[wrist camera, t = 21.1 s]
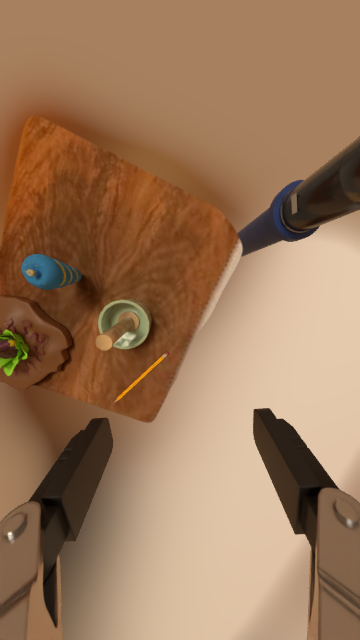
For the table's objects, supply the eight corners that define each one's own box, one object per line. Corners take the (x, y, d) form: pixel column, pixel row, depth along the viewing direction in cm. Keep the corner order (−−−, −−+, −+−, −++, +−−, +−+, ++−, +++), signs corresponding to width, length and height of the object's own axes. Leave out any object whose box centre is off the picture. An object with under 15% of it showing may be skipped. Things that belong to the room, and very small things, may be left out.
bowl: (144, 293, 39) (140, 294, 34) (157, 335, 41) (155, 342, 36) (101, 304, 39) (90, 307, 34) (115, 346, 41) (108, 354, 36)
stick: (136, 308, 39) (114, 323, 25) (142, 328, 40) (124, 353, 25) (116, 314, 39) (82, 331, 25) (122, 332, 40) (94, 361, 26)
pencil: (169, 354, 42) (167, 353, 41) (115, 404, 44) (112, 404, 43) (168, 352, 42) (166, 350, 42) (114, 401, 44) (112, 401, 44)
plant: (-41, 341, 40) (-122, 363, 29) (13, 281, 37) (-54, 280, 26) (32, 396, 43) (-15, 435, 32) (85, 344, 41) (53, 366, 30)
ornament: (75, 258, 37) (12, 242, 22) (98, 271, 38) (50, 264, 23) (65, 280, 38) (-2, 277, 23) (87, 292, 39) (35, 297, 24)
